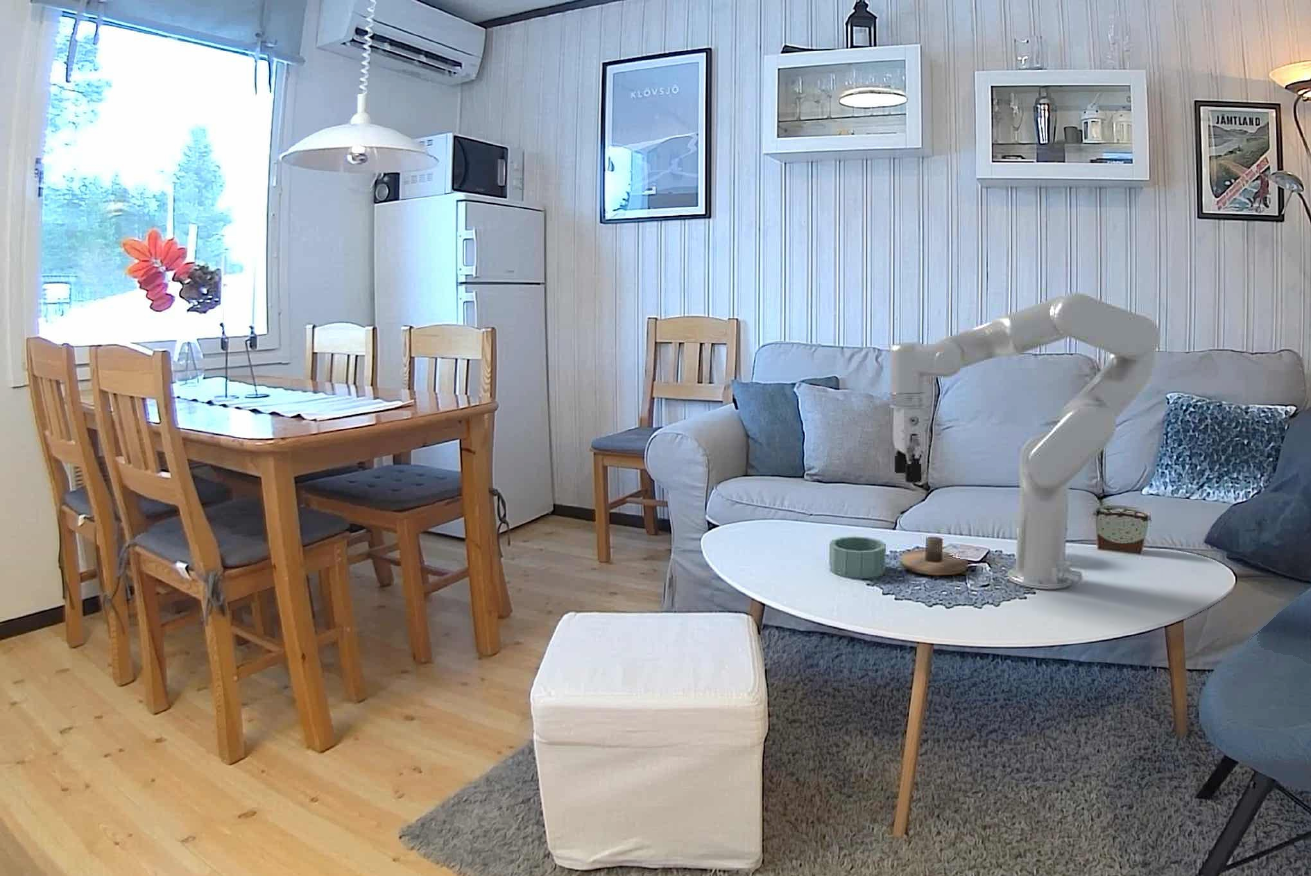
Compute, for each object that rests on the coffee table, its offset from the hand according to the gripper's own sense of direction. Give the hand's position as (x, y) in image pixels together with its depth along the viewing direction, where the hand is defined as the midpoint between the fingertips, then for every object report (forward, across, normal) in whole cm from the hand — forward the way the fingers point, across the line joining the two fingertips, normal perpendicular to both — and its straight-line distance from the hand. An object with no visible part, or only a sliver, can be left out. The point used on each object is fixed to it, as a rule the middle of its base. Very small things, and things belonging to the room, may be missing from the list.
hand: (907, 477), depth 201 cm
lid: (+21, +1, -6) cm, 22 cm away
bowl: (+21, +1, +11) cm, 24 cm away
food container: (+22, +13, -54) cm, 60 cm away
